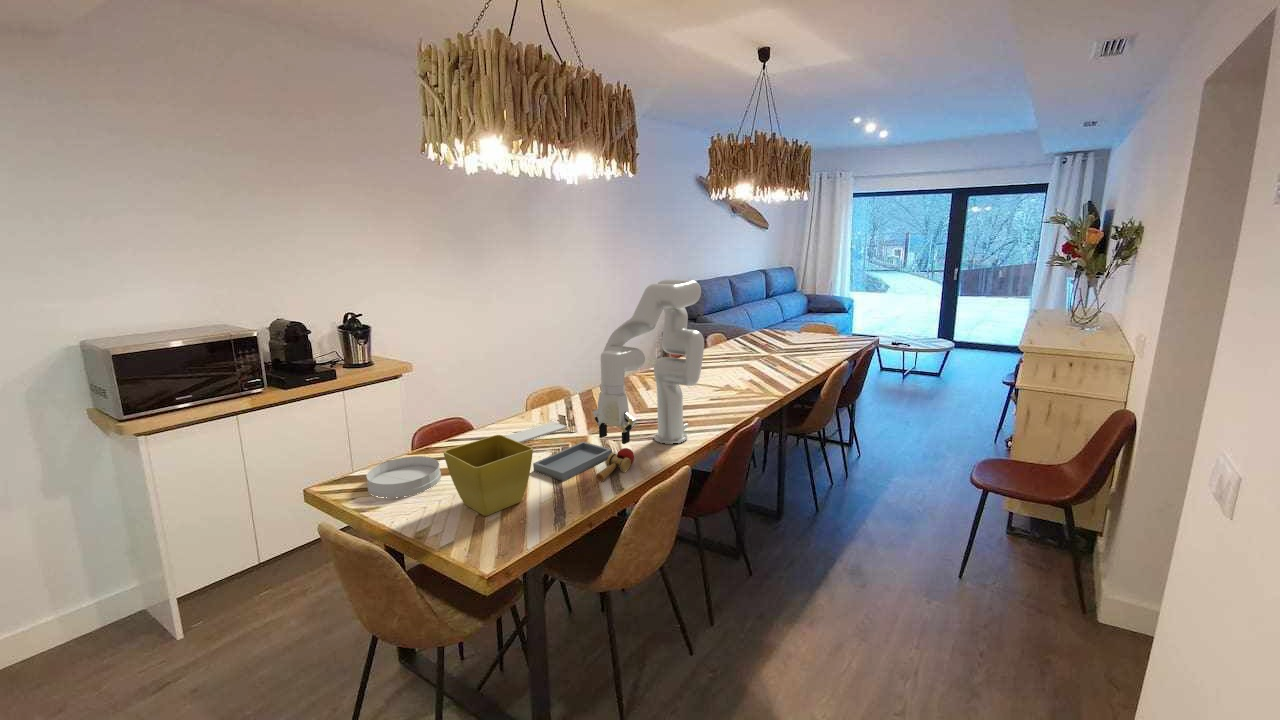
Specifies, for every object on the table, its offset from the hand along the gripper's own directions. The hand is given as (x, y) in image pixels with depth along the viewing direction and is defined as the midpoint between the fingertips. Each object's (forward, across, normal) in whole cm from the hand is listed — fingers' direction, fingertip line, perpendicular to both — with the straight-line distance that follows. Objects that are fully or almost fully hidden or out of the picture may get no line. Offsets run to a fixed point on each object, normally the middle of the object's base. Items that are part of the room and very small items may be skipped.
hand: (614, 439), depth 182 cm
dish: (+13, -51, -45) cm, 69 cm away
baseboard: (+12, -52, +7) cm, 54 cm away
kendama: (+12, 0, 0) cm, 12 cm away
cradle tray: (+11, -16, -3) cm, 20 cm away
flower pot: (+12, -16, -37) cm, 42 cm away
